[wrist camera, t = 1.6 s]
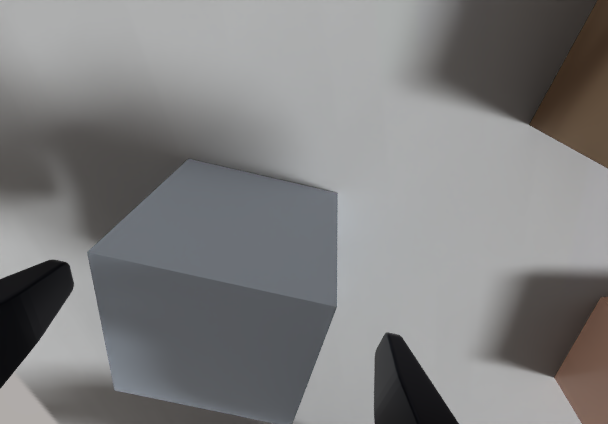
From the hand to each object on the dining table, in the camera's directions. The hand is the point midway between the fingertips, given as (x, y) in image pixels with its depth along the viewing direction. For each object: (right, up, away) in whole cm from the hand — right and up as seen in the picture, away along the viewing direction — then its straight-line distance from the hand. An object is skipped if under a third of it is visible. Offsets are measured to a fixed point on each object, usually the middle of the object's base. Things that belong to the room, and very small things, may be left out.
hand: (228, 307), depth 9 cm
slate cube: (0, +2, +3) cm, 3 cm away
